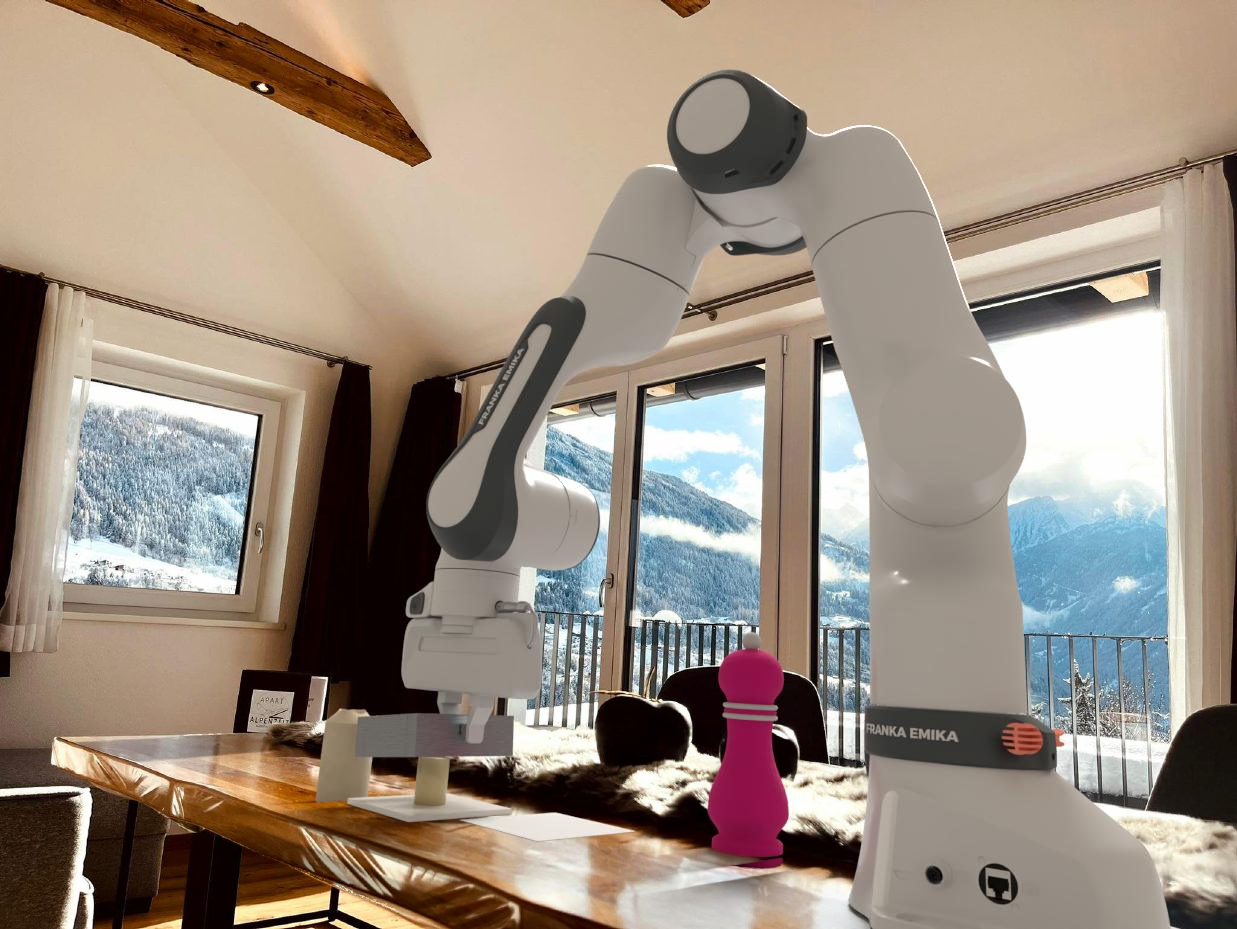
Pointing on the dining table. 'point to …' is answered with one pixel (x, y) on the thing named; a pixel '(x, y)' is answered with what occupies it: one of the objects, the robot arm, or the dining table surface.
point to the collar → (430, 736)
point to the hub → (429, 798)
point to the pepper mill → (749, 759)
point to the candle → (342, 760)
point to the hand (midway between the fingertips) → (461, 741)
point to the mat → (547, 826)
